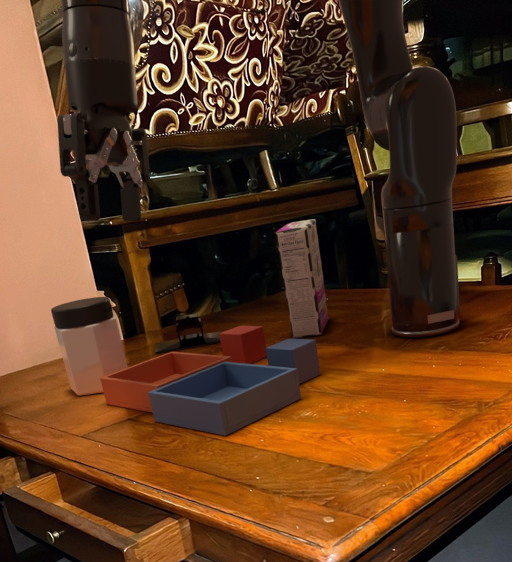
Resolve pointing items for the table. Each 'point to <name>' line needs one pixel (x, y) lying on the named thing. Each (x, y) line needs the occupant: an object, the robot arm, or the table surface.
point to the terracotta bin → (153, 377)
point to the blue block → (295, 357)
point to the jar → (88, 342)
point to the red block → (244, 344)
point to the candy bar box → (303, 278)
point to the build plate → (188, 340)
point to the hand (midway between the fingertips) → (112, 221)
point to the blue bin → (225, 396)
